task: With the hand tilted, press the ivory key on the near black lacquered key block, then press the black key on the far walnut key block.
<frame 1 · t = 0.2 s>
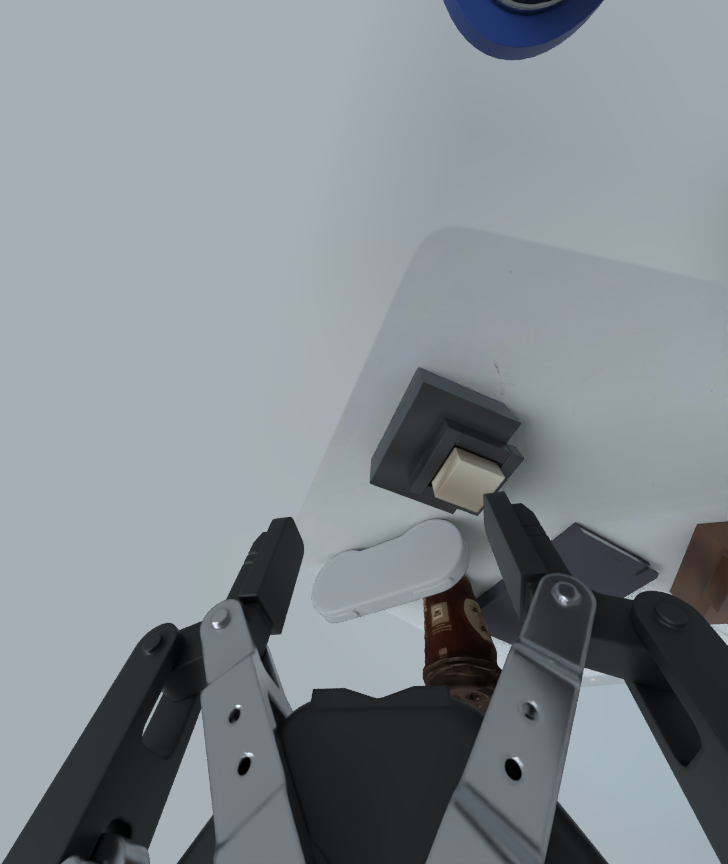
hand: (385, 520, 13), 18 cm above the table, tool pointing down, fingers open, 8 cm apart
coffee cup: (446, 581, 41), on the table
notebook: (546, 589, 41), on the table
ivory key: (466, 480, 25), point 7 cm above the table, slide at 0.1 cm
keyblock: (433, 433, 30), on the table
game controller: (384, 540, 38), on the table
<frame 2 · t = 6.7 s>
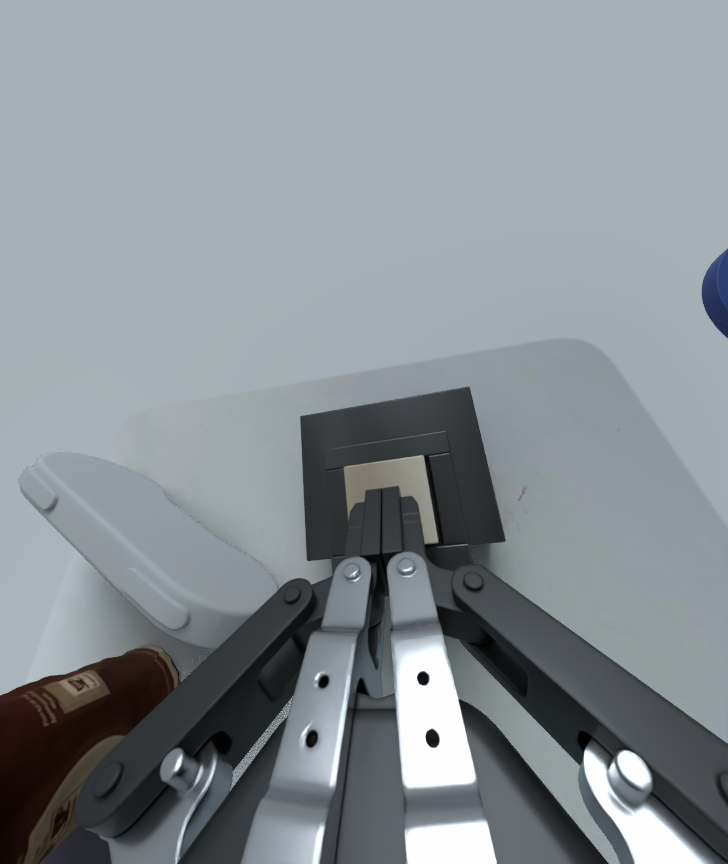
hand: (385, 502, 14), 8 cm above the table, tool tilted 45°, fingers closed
coffee cup: (145, 696, 21), on the table
ivory key: (390, 503, 15), point 7 cm above the table, slide at 0.0 cm, touching gripper
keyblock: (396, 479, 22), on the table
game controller: (198, 531, 24), on the table
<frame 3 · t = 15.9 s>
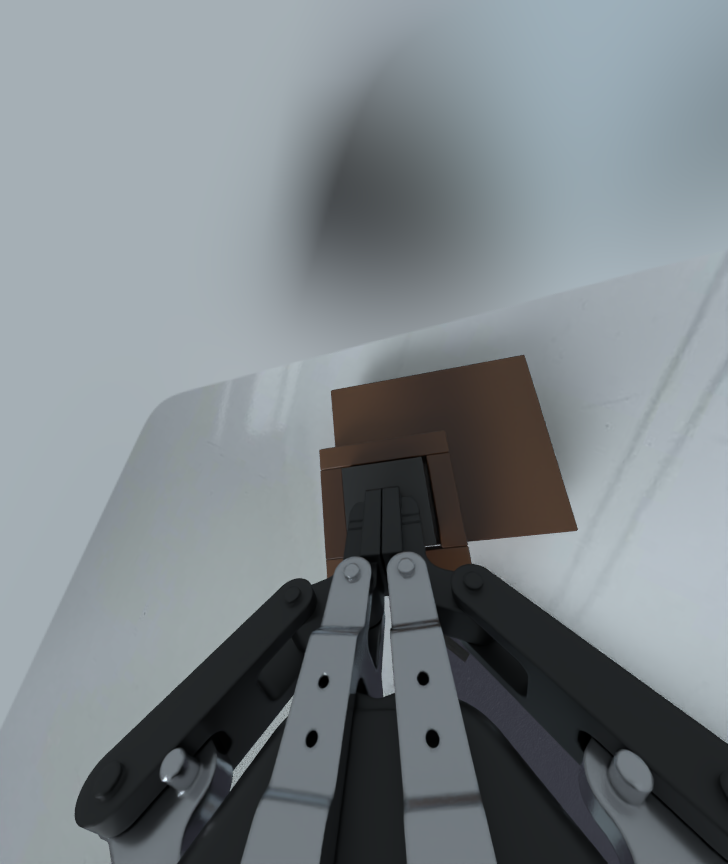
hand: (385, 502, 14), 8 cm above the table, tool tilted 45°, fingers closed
notebook: (590, 853, 15), on the table
ebony key: (388, 505, 15), point 6 cm above the table, slide at -0.5 cm, touching gripper
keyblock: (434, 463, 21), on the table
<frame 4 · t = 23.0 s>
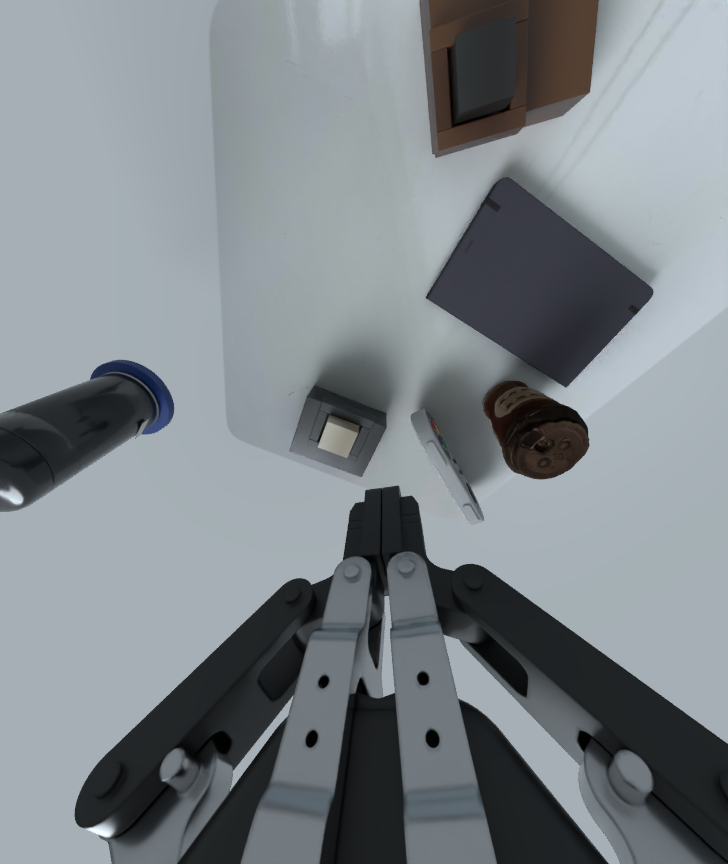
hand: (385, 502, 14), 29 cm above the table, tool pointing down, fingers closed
coffee cup: (505, 400, 41), on the table
notebook: (532, 294, 35), on the table
ivory key: (338, 436, 38), point 7 cm above the table, slide at 0.1 cm
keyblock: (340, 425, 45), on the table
ebony key: (482, 74, 22), point 7 cm above the table, slide at 0.1 cm
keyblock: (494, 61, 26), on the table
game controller: (443, 452, 46), on the table
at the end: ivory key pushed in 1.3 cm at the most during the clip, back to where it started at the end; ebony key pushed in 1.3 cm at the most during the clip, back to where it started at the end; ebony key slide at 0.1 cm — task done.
